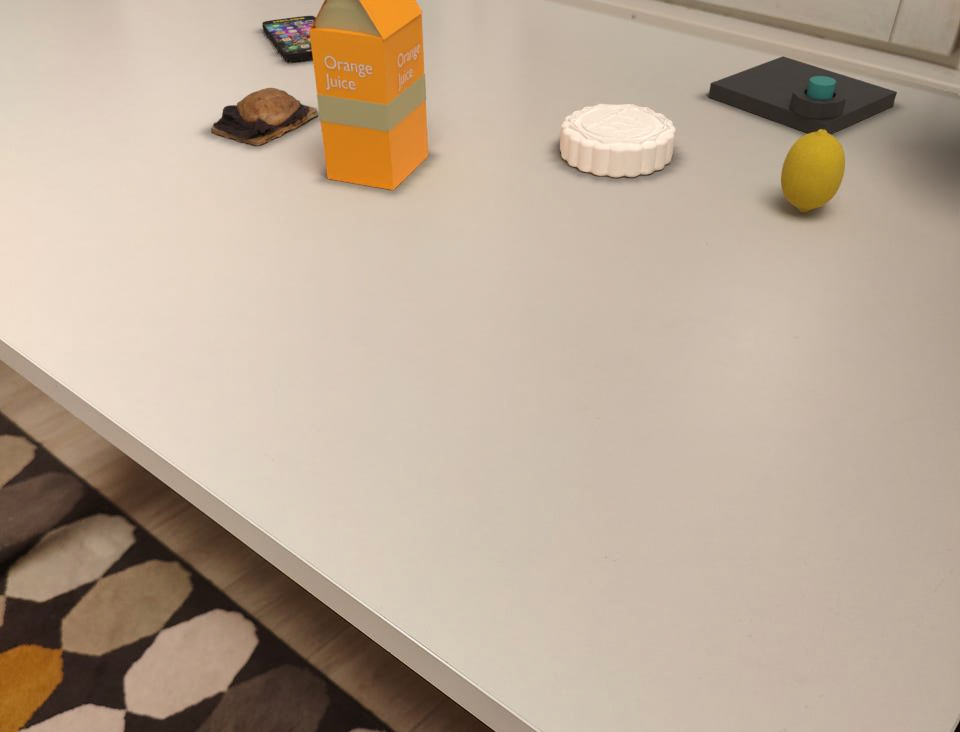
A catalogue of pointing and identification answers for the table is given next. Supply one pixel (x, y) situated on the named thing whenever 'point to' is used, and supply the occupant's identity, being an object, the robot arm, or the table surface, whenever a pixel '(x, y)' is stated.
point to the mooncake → (617, 140)
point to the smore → (262, 116)
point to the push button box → (801, 96)
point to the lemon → (813, 170)
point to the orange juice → (370, 89)
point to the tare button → (821, 87)
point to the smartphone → (291, 36)
